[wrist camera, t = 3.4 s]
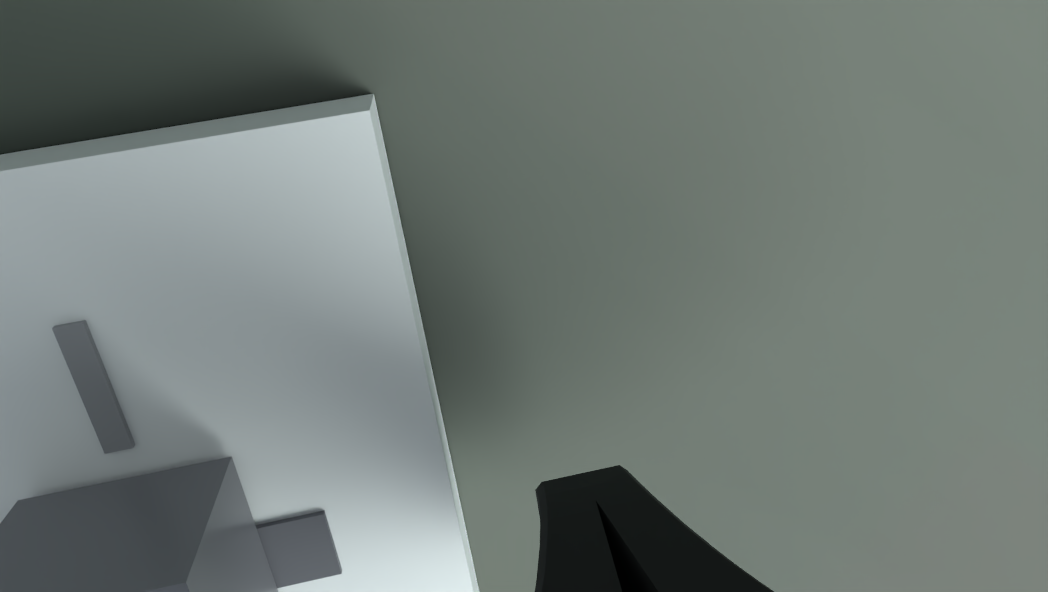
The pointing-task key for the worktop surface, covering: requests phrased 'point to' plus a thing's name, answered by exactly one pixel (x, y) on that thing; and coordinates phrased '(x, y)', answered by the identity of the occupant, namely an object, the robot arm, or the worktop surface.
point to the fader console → (233, 338)
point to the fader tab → (138, 536)
